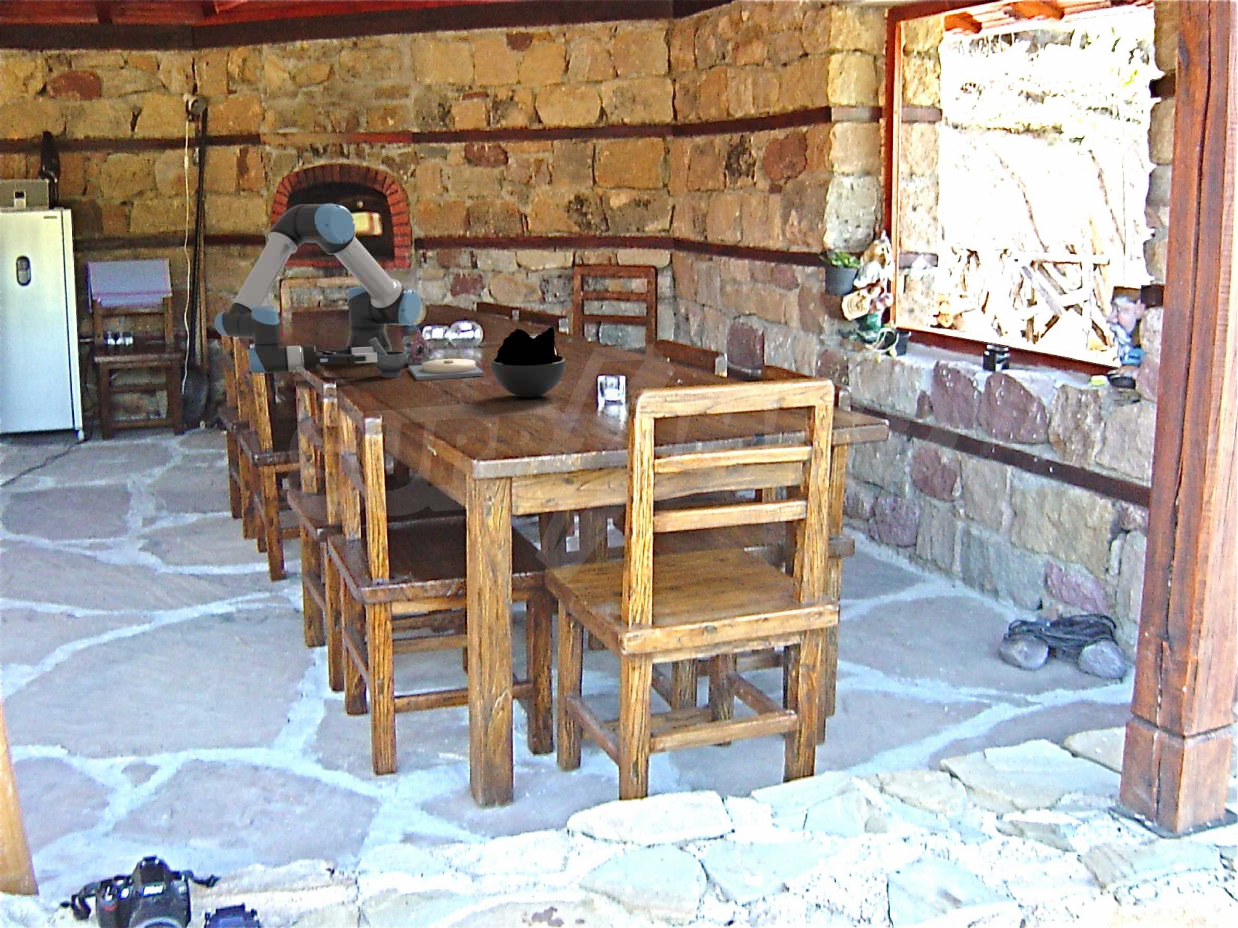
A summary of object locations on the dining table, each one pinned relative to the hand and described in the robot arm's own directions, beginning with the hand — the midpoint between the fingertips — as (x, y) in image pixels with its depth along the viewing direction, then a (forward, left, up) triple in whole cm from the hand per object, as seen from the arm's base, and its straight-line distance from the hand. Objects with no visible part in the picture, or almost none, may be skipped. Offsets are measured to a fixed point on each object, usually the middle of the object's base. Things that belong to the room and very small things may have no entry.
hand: (375, 354), depth 395 cm
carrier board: (0, +21, -7) cm, 22 cm away
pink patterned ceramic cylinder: (-21, +15, -7) cm, 26 cm away
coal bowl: (+51, +37, -7) cm, 64 cm away
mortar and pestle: (-1, +4, -7) cm, 8 cm away
